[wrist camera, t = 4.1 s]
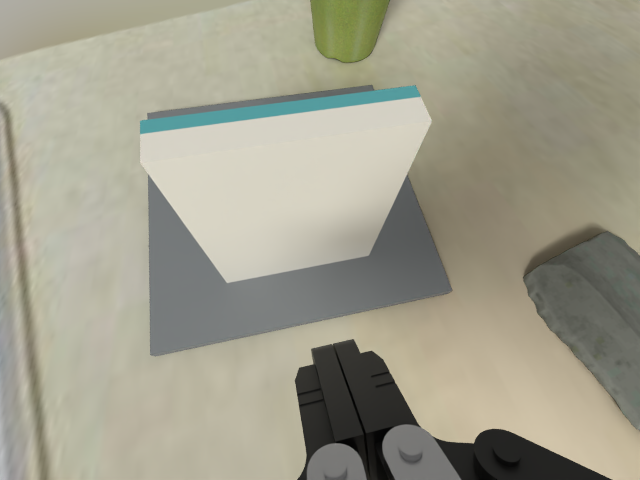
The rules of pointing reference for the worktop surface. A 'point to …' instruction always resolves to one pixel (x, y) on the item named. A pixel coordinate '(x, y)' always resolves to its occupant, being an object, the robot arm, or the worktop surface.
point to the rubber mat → (282, 288)
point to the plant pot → (347, 27)
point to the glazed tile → (286, 176)
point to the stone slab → (596, 312)
